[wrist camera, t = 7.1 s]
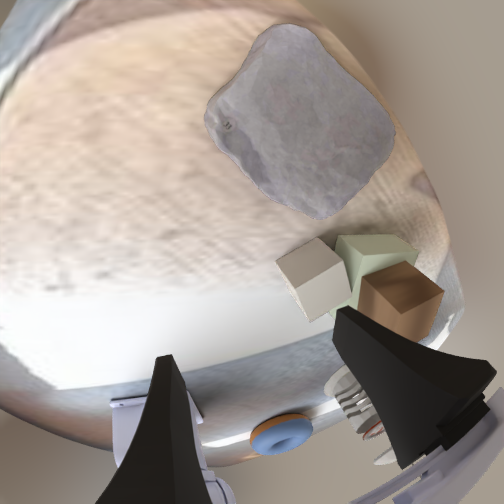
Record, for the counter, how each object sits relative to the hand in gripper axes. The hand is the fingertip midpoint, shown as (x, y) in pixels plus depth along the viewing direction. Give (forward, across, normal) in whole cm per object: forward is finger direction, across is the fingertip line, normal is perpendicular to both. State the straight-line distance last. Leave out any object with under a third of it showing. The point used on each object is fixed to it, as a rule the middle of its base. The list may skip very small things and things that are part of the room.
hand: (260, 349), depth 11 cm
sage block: (+11, -13, +6) cm, 18 cm away
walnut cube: (+7, -13, +6) cm, 16 cm away
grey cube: (+10, -7, +4) cm, 13 cm away
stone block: (+11, -6, -7) cm, 15 cm away
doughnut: (+11, -4, +34) cm, 35 cm away
